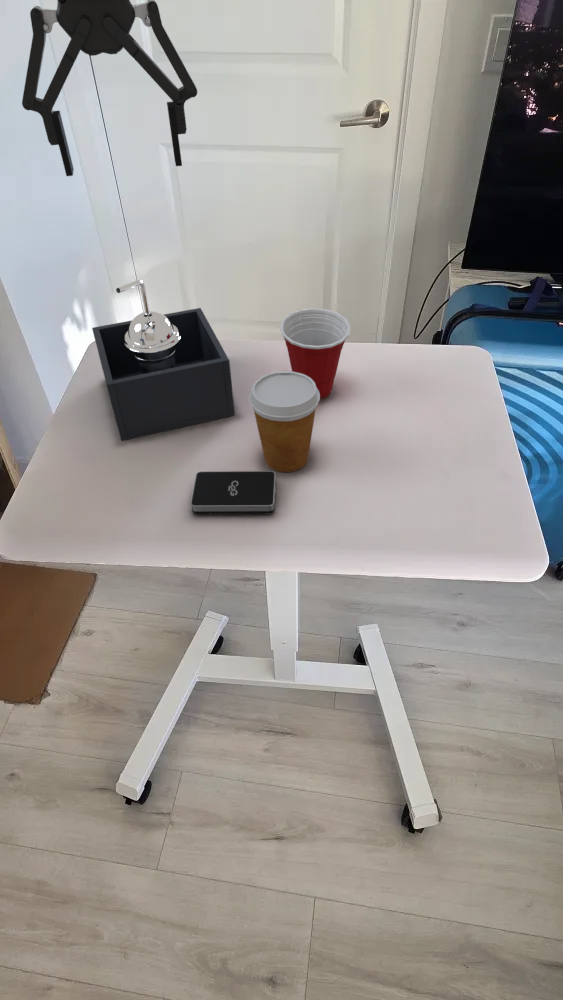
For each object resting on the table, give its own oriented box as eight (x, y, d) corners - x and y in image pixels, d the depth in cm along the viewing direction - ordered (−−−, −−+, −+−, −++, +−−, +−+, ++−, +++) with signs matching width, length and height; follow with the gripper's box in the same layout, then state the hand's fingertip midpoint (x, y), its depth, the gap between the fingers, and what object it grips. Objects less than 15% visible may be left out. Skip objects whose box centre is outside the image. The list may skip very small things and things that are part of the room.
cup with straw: (198, 394, 102) (181, 274, 88) (149, 415, 98) (123, 293, 84) (172, 372, 107) (152, 256, 93) (124, 391, 103) (96, 273, 89)
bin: (121, 441, 95) (106, 384, 88) (105, 380, 108) (91, 327, 101) (235, 415, 99) (229, 359, 92) (207, 360, 111) (200, 307, 105)
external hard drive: (198, 482, 88) (196, 471, 86) (277, 481, 87) (276, 470, 86) (191, 517, 82) (189, 506, 81) (275, 516, 82) (274, 505, 81)
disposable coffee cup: (331, 450, 92) (333, 380, 83) (297, 488, 86) (295, 417, 78) (276, 431, 96) (273, 362, 87) (240, 466, 90) (233, 396, 82)
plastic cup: (299, 417, 98) (298, 349, 90) (271, 383, 105) (268, 317, 97) (359, 399, 101) (364, 331, 93) (329, 367, 108) (330, 302, 100)
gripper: (199, -63, 69) (218, 151, 84) (-36, -51, 66) (26, 168, 81) (206, -61, 64) (225, 167, 78) (-50, -48, 61) (20, 186, 75)
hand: (124, 168), depth 79 cm, fingers open, 13 cm apart
